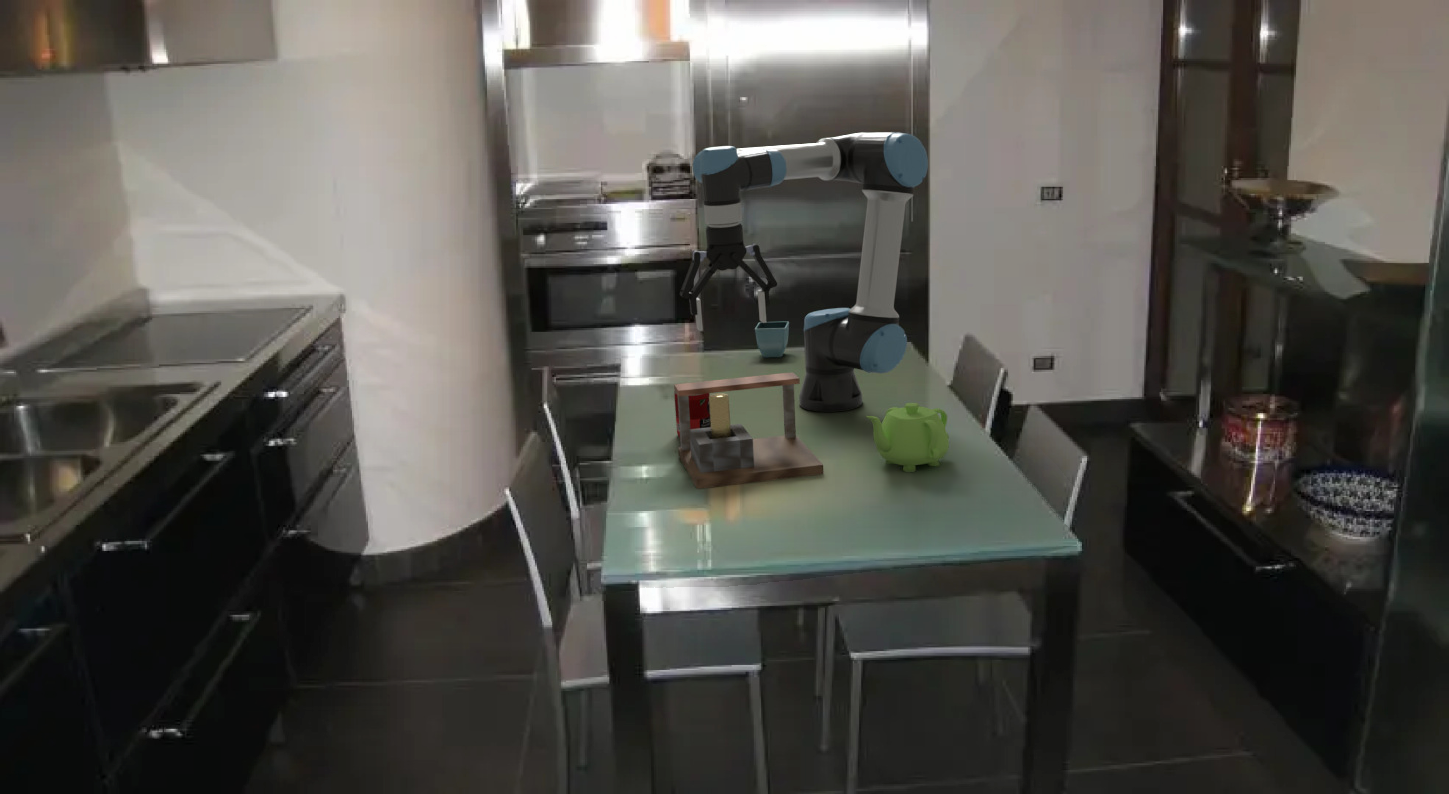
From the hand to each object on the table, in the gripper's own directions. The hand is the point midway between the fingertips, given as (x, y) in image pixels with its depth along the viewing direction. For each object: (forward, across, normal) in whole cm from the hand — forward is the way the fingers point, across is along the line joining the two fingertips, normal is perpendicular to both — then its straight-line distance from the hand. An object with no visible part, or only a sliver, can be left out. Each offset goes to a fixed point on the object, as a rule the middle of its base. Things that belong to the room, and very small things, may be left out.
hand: (731, 325), depth 257 cm
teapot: (+29, -30, +20) cm, 46 cm away
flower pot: (+30, -30, -83) cm, 93 cm away
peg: (+26, +6, +10) cm, 28 cm away
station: (+28, 0, +8) cm, 29 cm away
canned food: (+28, +7, -17) cm, 34 cm away
